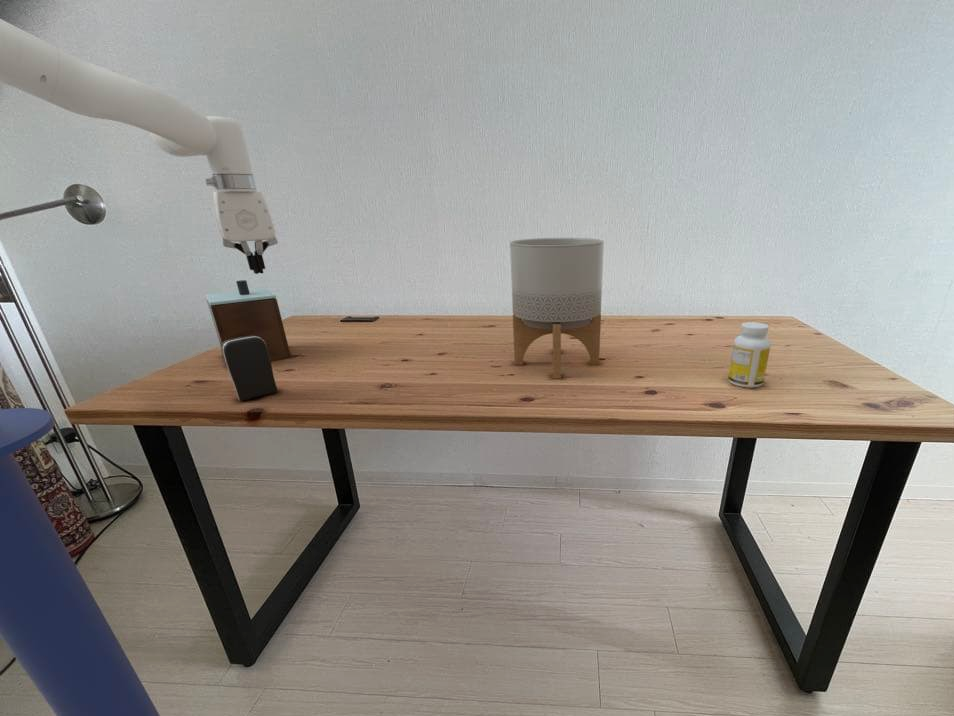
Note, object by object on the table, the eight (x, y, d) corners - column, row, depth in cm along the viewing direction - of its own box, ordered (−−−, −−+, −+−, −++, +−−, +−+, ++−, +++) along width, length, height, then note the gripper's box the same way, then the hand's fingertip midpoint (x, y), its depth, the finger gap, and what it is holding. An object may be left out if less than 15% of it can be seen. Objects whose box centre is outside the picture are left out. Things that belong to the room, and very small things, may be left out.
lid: (210, 305, 96) (204, 288, 95) (205, 297, 105) (200, 281, 104) (276, 297, 103) (272, 281, 102) (266, 290, 112) (262, 275, 111)
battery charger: (273, 387, 91) (258, 331, 86) (280, 392, 89) (264, 335, 84) (234, 397, 87) (215, 339, 82) (239, 403, 84) (221, 343, 80)
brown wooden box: (229, 368, 102) (210, 306, 96) (223, 355, 111) (205, 297, 106) (291, 357, 109) (276, 298, 103) (280, 345, 118) (266, 291, 113)
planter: (595, 350, 110) (599, 237, 100) (602, 378, 93) (608, 244, 83) (518, 351, 111) (513, 238, 100) (511, 378, 94) (505, 246, 83)
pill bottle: (763, 379, 91) (775, 322, 87) (762, 391, 86) (774, 330, 81) (729, 375, 94) (738, 319, 89) (725, 385, 89) (735, 327, 84)
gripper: (194, 184, 91) (222, 278, 98) (277, 184, 99) (297, 271, 106) (192, 185, 96) (218, 274, 104) (271, 185, 104) (290, 268, 112)
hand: (258, 272), depth 105 cm, fingers closed
